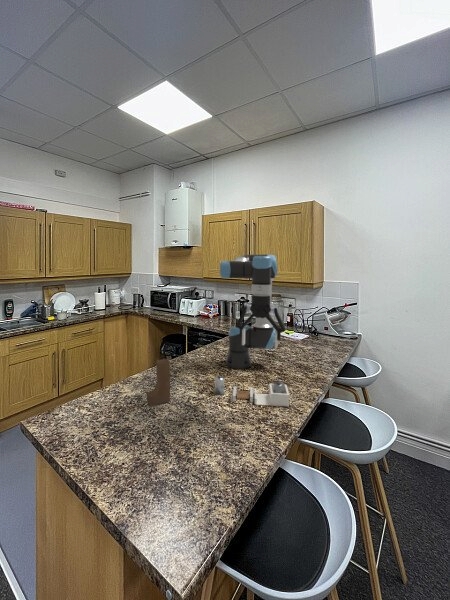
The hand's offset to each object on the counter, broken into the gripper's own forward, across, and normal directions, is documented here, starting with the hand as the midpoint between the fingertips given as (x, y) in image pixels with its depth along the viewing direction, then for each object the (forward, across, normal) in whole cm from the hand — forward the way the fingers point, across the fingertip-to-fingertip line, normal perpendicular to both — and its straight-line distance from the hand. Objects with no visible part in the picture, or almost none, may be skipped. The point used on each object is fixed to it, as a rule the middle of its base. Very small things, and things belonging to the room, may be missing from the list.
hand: (259, 346), depth 116 cm
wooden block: (+26, -41, -12) cm, 50 cm away
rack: (+26, +5, +4) cm, 26 cm away
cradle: (+26, -7, +2) cm, 27 cm away
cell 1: (+26, -19, +6) cm, 33 cm away
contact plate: (+25, -7, +2) cm, 26 cm away
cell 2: (+24, +8, +4) cm, 26 cm away
